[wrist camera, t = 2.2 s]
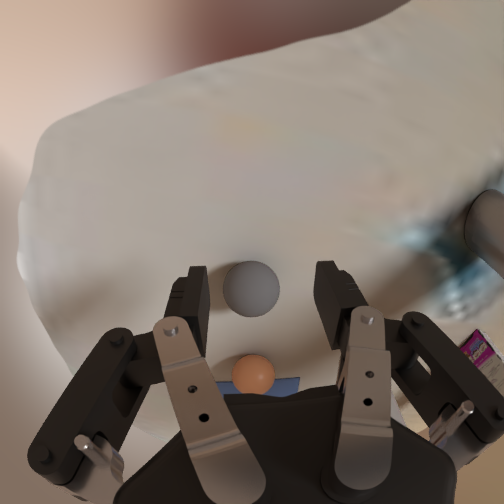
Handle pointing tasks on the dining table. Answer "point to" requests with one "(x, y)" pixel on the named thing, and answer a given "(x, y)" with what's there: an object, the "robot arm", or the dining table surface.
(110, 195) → the dining table surface
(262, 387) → the object ball
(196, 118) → the dining table surface
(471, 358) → the candy bar box
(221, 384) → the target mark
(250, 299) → the grey ball
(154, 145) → the dining table surface
